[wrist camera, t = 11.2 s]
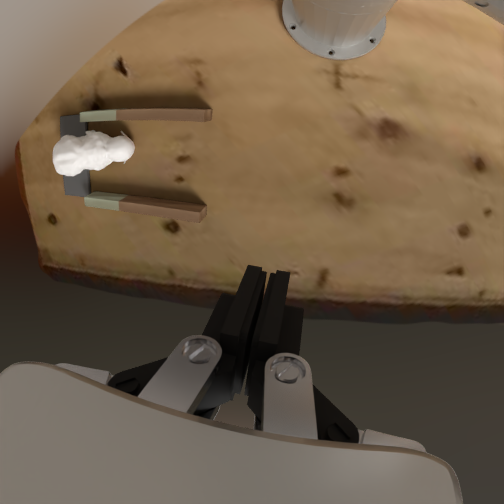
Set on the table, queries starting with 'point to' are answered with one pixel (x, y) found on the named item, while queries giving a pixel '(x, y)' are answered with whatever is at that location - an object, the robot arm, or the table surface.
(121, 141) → the white figurine
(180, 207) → the parallel bars
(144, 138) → the table surface
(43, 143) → the table surface
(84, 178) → the mat
